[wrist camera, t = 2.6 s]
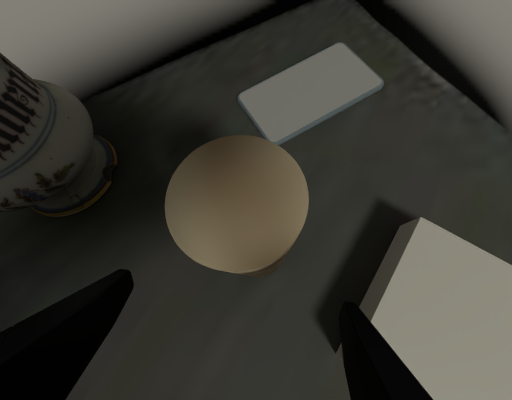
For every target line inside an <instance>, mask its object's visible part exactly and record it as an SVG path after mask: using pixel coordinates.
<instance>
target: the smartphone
mask: <svg viewBox="0 0 512 400" xmlns="http://www.w3.org/2000/svg"><path fill="white" fill-rule="evenodd" d="M383 85H384V81H383V79H382V78H381V77H380V76H379V75H378V74H376V73H375V72H374V71H373V70H372V69H371V68H370V67H369V66H368V65H367V64H366V63H365V62H364V61H363V60H361V59H360V58H359V57H358V56H357V55H356V54H355V53H354V52H353V51H352V50H351V49H350V48H349V47H348V46H347V45H345V44H344V43H341V42H338V43H335V44H333V45H331V46H330V47H328V48H326V49H324V50H322V51H320V52H318V53H316V54H314V55H312V56H310V57H308V58H306V59H304V60H302V61H301V62H299V63H297V64H295V65H293V66H291V67H289V68H287V69H285V70H283V71H281V72H279V73H277V74H275V75H274V76H272V77H270V78H268V79H266V80H264V81H262V82H260V83H258V84H256V85H254V86H252V87H250V88H248V89H246V90H245V91H243V92H241V93H239V95H238V96H237V101H238V103H239V104H240V105H241V107H242V108H243V110H244V111H245V112H246V113H247V115H248V117H249V118H250V119H251V120H252V122H253V123H254V125H255V127H256V128H257V129H258V131H259V132H260V133H261V135H262V136H263V138H264V139H265V140H268V141H270V142H272V143H274V144H276V145H280V144H282V143H284V142H286V141H288V140H289V139H291V138H293V137H295V136H297V135H299V134H300V133H302V132H304V131H306V130H308V129H310V128H312V127H313V126H315V125H317V124H319V123H321V122H323V121H324V120H326V119H328V118H330V117H332V116H334V115H335V114H337V113H339V112H341V111H343V110H345V109H346V108H348V107H350V106H352V105H354V104H355V103H357V102H359V101H361V100H363V99H364V98H366V97H368V96H370V95H372V94H373V93H375V92H377V91H379V90H380V89H381V88H382V87H383Z"/></svg>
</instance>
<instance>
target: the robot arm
mask: <svg viewBox="0 0 512 400" xmlns="http://www.w3.org/2000/svg"><path fill="white" fill-rule="evenodd" d="M133 287H134V283H133V279H132V275H131V272H130V271H129V270H124V269H119V270H117V271H115V272H113V273H111V274H110V275H108V276H106V277H104V278H102V279H100V280H98V281H96V282H94V283H93V284H91V285H89V286H87V287H85V288H83V289H81V290H79V291H77V292H76V293H74V294H72V295H70V296H68V297H66V298H64V299H62V300H61V301H59V302H57V303H55V304H53V305H51V306H49V307H47V308H45V309H44V310H42V311H40V312H38V313H36V314H34V315H32V316H30V317H28V318H27V319H25V320H23V321H21V322H19V323H17V324H15V325H14V326H13V327H9V328H8V329H6V330H4V331H2V332H0V400H65V399H66V398H67V396H68V395H69V393H70V392H71V390H72V389H73V387H74V386H75V384H76V383H77V381H78V379H79V378H80V376H81V375H82V373H83V372H84V370H85V369H86V367H87V366H88V364H89V362H90V361H91V359H92V358H93V356H94V355H95V353H96V352H97V350H98V349H99V347H100V346H101V344H102V342H103V341H104V339H105V338H106V336H107V335H108V333H109V332H110V330H111V328H112V327H113V325H114V324H115V322H116V320H117V318H118V316H119V314H120V313H121V311H122V309H123V307H124V305H125V303H126V301H127V299H128V297H129V296H130V294H131V292H132V290H133ZM339 325H340V334H341V344H342V354H343V362H344V368H345V373H346V378H347V383H348V388H349V393H350V397H351V400H433V398H432V397H431V396H430V395H429V394H428V392H427V391H426V390H425V389H424V387H423V386H422V385H421V384H420V382H419V381H418V380H417V379H416V377H415V376H414V375H413V374H412V372H411V371H410V370H409V369H408V367H407V366H406V365H405V364H404V362H403V361H402V360H401V359H400V357H399V356H398V355H397V354H396V353H395V351H394V350H393V349H392V348H391V346H390V345H389V344H388V343H387V341H386V340H385V339H384V338H383V336H382V335H381V334H380V333H379V331H378V330H377V329H376V328H375V326H374V325H373V324H372V323H371V321H370V320H369V319H368V318H367V316H366V315H365V314H364V313H363V312H362V310H361V309H360V308H359V307H358V305H357V304H356V303H354V302H349V301H344V302H343V305H342V308H341V311H340V315H339Z"/></svg>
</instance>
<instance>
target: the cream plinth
mask: <svg viewBox="0 0 512 400" xmlns="http://www.w3.org/2000/svg"><path fill="white" fill-rule="evenodd" d="M359 308H360V309H361V310H362V312H363V313H364V314H365V315H366V316H367V318H368V319H369V320H370V321H371V323H372V324H373V325H374V326H375V328H376V329H377V330H378V331H379V333H380V334H381V335H382V336H383V338H384V339H385V340H386V341H387V343H388V344H389V345H390V346H391V348H392V349H393V350H394V351H395V353H396V354H397V355H398V356H399V357H400V359H401V360H402V361H403V362H404V364H405V365H406V366H407V367H408V369H409V370H410V371H411V372H412V374H413V375H414V376H415V377H416V379H417V380H418V381H419V382H420V384H421V385H422V386H423V387H424V389H425V390H426V391H427V392H428V394H429V395H430V396H431V397H432V398H433V400H512V265H510V264H508V263H506V262H504V261H503V260H501V259H499V258H497V257H495V256H493V255H491V254H489V253H488V252H486V251H484V250H482V249H480V248H478V247H476V246H474V245H473V244H471V243H469V242H467V241H465V240H463V239H461V238H460V237H458V236H456V235H454V234H452V233H450V232H448V231H446V230H445V229H443V228H441V227H439V226H437V225H435V224H433V223H431V222H430V221H428V220H426V219H424V218H422V217H420V218H417V219H415V220H412V221H410V222H408V223H405V224H403V225H401V226H400V227H399V229H398V231H397V233H396V235H395V237H394V239H393V241H392V243H391V245H390V247H389V249H388V251H387V253H386V255H385V257H384V259H383V261H382V263H381V265H380V267H379V269H378V271H377V273H376V275H375V277H374V279H373V280H372V282H371V284H370V286H369V288H368V290H367V292H366V294H365V296H364V298H363V300H362V302H361V304H360V306H359ZM336 355H337V356H338V357H339V358H340V359H341V361H342V362H343V354H342V344H340V346H339V348H338V350H337V352H336ZM343 363H344V362H343Z"/></svg>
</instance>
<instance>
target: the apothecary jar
mask: <svg viewBox="0 0 512 400" xmlns="http://www.w3.org/2000/svg"><path fill="white" fill-rule="evenodd" d="M116 166H117V156H116V153H115V150H114V148H113V146H112V145H111V144H110V143H109V142H108V141H107V140H105V139H104V138H102V137H100V136H98V135H94V134H93V126H92V121H91V118H90V116H89V114H88V112H87V110H86V108H85V107H84V105H83V104H82V103H81V102H80V100H79V99H78V98H77V97H75V96H74V95H73V94H72V93H70V92H69V91H67V90H65V89H64V88H62V87H60V86H58V85H55V84H52V83H49V82H45V81H41V80H35V79H32V78H31V77H29V76H28V75H27V74H25V73H24V72H23V71H22V70H20V69H19V68H18V67H17V66H15V65H14V64H13V63H12V62H11V61H9V60H8V59H7V58H6V57H5V56H3V55H2V54H1V53H0V212H9V211H15V210H20V209H24V208H27V207H30V206H31V207H32V208H33V209H34V210H35V211H36V212H38V213H40V214H42V215H45V216H50V217H62V216H68V215H72V214H75V213H78V212H80V211H83V210H84V209H86V208H88V207H89V206H91V205H92V204H94V203H95V202H96V201H98V200H99V199H100V198H101V197H102V196H103V194H104V193H105V192H106V191H107V189H108V188H109V186H110V185H111V183H112V170H113V169H114V168H115V167H116Z"/></svg>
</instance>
